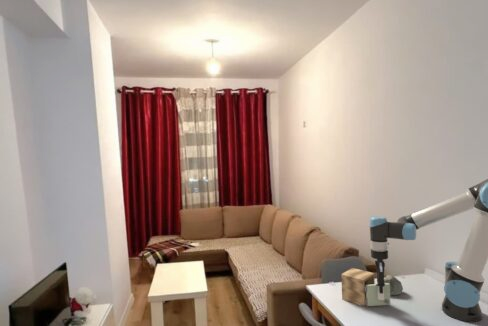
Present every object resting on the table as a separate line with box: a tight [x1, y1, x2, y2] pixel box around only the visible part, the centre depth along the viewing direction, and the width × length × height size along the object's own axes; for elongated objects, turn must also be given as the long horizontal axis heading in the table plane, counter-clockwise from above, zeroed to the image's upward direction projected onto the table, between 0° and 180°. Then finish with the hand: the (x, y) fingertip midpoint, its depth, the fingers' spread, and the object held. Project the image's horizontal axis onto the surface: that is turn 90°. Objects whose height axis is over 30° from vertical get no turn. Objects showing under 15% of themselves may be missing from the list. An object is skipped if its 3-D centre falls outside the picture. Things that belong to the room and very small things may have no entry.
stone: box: [384, 274, 404, 296], centre depth 163 cm, size 10×10×10 cm
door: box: [365, 283, 391, 307], centre depth 148 cm, size 2×12×10 cm, turn 94°
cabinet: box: [340, 267, 376, 307], centre depth 158 cm, size 12×12×13 cm
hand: (381, 299), depth 146 cm, fingers closed
